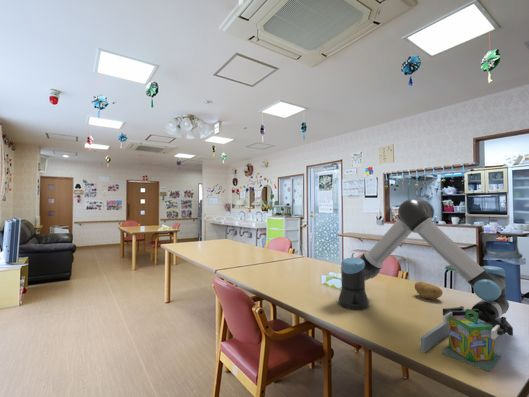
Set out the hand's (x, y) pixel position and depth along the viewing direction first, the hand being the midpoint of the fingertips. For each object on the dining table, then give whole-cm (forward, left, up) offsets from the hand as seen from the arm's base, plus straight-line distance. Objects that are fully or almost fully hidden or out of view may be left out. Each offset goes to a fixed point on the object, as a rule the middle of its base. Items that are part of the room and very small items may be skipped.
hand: (466, 327), depth 91 cm
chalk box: (0, +3, -10) cm, 11 cm away
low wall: (-11, +3, -10) cm, 16 cm away
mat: (0, +3, -10) cm, 11 cm away
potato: (-33, +51, -11) cm, 62 cm away
